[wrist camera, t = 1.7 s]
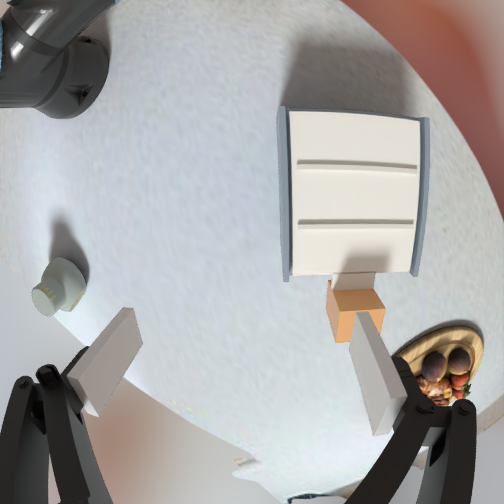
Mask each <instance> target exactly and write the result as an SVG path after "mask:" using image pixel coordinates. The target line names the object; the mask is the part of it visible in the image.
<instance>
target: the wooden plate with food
mask: <svg viewBox="0 0 504 504" xmlns="http://www.w3.org/2000/svg"><path fill="white" fill-rule="evenodd" d="M482 354H483V343H482V340H481V337H480V335H479V334H478V333H477V332H476V331H475V330H474V329H472V328H470V327H466V326H450V327H446V328H443V329H440V330H437V331H434V332H432V333H430V334H428V335H426V336H424V337H422V338H420V339H419V340H417V341H415V342H414V343H412V344H411V345H409V346H408V347H406V348H405V349H404V350H402V351H401V352H400V353H399V354H397V355H396V356H395V357H400V356H401V357H402V358H403V359H404V360H406V361H407V362H408V364H409V366H410V368H411V371H412V372H413V374H414V377H415V378H416V380H417V382H418V384H419V386H420V388H421V390H422V392H423V395H424V397H426V398H429V399H431V400H433V402H434V403H435V404H436V405H438V406H448V405H449V404H450V403H451V402H452V401H453V400H454V399H455V398H457V399H465V398H466V396H468V394H470V392H469V389H470V386H471V384H470V385H468V384H469V383H470V382H471V380H472V379H473V377H474V376H475V374H476V372H477V370H478V368H479V365H480V362H481V359H482Z"/></svg>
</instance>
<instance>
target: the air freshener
mask: <svg viewBox="0 0 504 504" xmlns="http://www.w3.org/2000/svg"><path fill="white" fill-rule="evenodd" d="M85 291H86V283H85V280H84V277H83V275H82V273H81V272H80V270H79V269H78V268H77V266H76V265H75V264H73V263H72V262H71V261H69V260H67V259H65V258H61V257H56V258H54V259H53V260H52V261H51V262H50V263H49V265H48V266H47V267H46V269H45V271H44V273H43V275H42V278H41V283H39V284H38V285H37V286H36V287H34V288H33V290H32V300H33V303H34V305H35V307H36V308H37V309H38V311H39V312H40V313H42V314H43V315H45V316H52V315H53V314H55V313H56V312H57V311H58V310H59V309H60V310H63V311H68V312H70V311H72V310H73V309H74V307H75V306H76V305H77V304H78V302H79V301H80V299H81V298H82V296H83V295H84V293H85Z"/></svg>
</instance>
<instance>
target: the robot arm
mask: <svg viewBox="0 0 504 504" xmlns="http://www.w3.org/2000/svg"><path fill="white" fill-rule="evenodd" d="M3 1H4V2H5V3H7V4H9V5H11V6H10V7H9V9H8V10H7V11H6V12H5V13H4V15H3V16H2V17H1V18H0V108H26V107H31V108H35V109H37V110H39V111H40V112H42V113H44V114H46V115H47V116H49V117H51V118H55V119H69V118H73V117H76V116H78V115H79V114H81V113H83V112H84V111H85V110H86V109H87V108H88V107H89V106H90V105H91V104H92V103H93V102H94V101H95V99H96V98H97V96H98V95H99V93H100V91H101V90H102V87H103V85H104V83H105V80H106V77H107V73H108V54H107V51H106V49H105V47H104V46H103V45H102V43H100V42H99V41H97V40H95V39H93V38H91V37H87V36H78V35H80V34H81V33H82V32H83V31H84V30H85V29H86V28H87V27H88V26H89V25H90V24H91V23H93V22H94V21H95V20H96V19H97V18H98V17H99V16H101V15H102V14H103V13H104V12H105V11H107V10H108V9H109V8H110V7H112V6H113V5H116V4H117V3H118V2H119V0H3ZM142 345H143V342H142V338H141V335H140V331H139V328H138V324H137V320H136V316H135V313H134V309H133V308H125V307H123V308H122V309H121V310H120V311H119V313H118V314H117V315H116V316H115V317H114V318H113V320H112V321H111V322H110V323H109V324H108V325H107V327H106V328H105V329H104V330H103V331H102V333H101V334H100V335H99V336H98V337H97V339H96V340H95V341H94V342H93V343H92V345H91V346H90V347H89V346H86V347H85V348H83V349H82V350H80V351H79V353H78V354H77V355H76V356H75V358H74V359H73V360H72V362H70V363H69V365H68V366H67V367H66V369H65V370H64V371H63V372H62V373H61V375H60V374H59V372H58V370H57V368H56V367H55V366H54V365H51V364H47V365H44V366H42V367H40V368H39V369H38V370H37V372H36V377H37V379H38V381H39V382H40V383H39V384H38V383H34V382H33V380H32V378H31V377H29V376H22V377H20V378H19V379H17V380H16V382H15V384H14V387H13V390H12V393H11V396H10V399H9V402H8V406H7V410H6V413H5V417H4V421H3V425H2V429H1V433H0V504H48V467H49V452H50V457H51V462H52V467H53V472H54V476H55V480H56V484H57V488H58V492H59V495H60V499H61V502H60V503H58V504H113V502H112V500H111V498H110V495H109V492H108V490H107V488H106V485H105V483H104V480H103V478H102V475H101V472H100V469H99V467H98V464H97V461H96V458H95V455H94V452H93V449H92V446H91V442H90V439H89V436H88V432H87V428H86V425H85V421H84V417H83V414H82V412H81V409H82V408H83V406H84V408H85V409H86V411H87V413H88V414H91V415H94V416H98V417H99V416H100V415H101V413H102V411H103V410H104V408H105V406H106V404H107V403H108V401H109V399H110V398H111V396H112V394H113V392H114V391H115V389H116V387H117V386H118V384H119V382H120V381H121V379H122V377H123V376H124V374H125V372H126V371H127V369H128V367H129V366H130V364H131V362H132V361H133V359H134V358H135V356H136V354H137V353H138V351H139V349H140V348H141V346H142ZM349 351H350V355H351V358H352V361H353V364H354V368H355V371H356V374H357V378H358V381H359V385H360V388H361V392H362V395H363V399H364V402H365V406H366V410H367V414H368V417H369V421H370V425H371V429H372V433H373V436H378V435H384V434H389V432H390V430H391V428H392V427H393V430H394V434H393V436H392V437H391V439H390V441H389V442H388V444H387V446H386V447H385V449H384V450H383V452H382V453H381V455H380V456H379V458H378V459H377V461H376V462H375V464H374V465H373V467H372V468H371V470H370V471H369V472H368V474H367V475H366V476H365V478H364V479H363V481H362V482H361V483H360V485H359V486H358V487H357V488H356V490H355V491H354V492H353V493H352V495H351V496H350V497H349V498H348V500H347V501H346V502H345V503H344V504H388V503H389V502H390V500H391V498H392V497H393V496H394V494H395V492H396V491H397V489H398V488H399V486H400V484H401V483H402V481H403V479H404V478H405V476H406V474H407V473H408V471H409V469H410V467H411V465H412V463H413V462H414V460H415V458H416V456H417V454H418V452H419V450H420V448H421V446H429V450H428V456H427V461H426V466H425V471H424V476H423V480H422V484H421V488H420V491H419V495H418V499H417V502H416V504H470V502H471V496H472V488H473V481H474V472H475V459H476V432H477V425H476V408H475V405H474V404H473V403H472V402H471V401H470V400H467V399H458V400H456V401H455V402H454V403H453V405H452V406H438V405H436V404H435V403H434V402H433V400H431V399H429V398H426V397H424V395H423V392H422V390H421V388H420V386H419V384H418V382H417V380H416V378H415V377H414V374H413V372H412V371H411V368H410V366H409V364H408V362H407V361H406V360H404V359H403V358H402V357H401V356H400V357H392V358H391V357H390V355H389V353H388V351H387V348H386V346H385V344H384V342H383V340H382V338H381V336H380V334H379V332H378V330H377V328H376V326H375V324H374V322H373V320H372V318H371V316H370V314H369V312H368V311H365V312H356V313H355V319H354V325H353V331H352V336H351V342H350V347H349Z"/></svg>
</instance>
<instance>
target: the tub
mask: <svg viewBox="0 0 504 504" xmlns="http://www.w3.org/2000/svg"><path fill="white" fill-rule="evenodd" d="M289 111H307V112H337V113H353V114H365V115H376V116H385V117H393V118H401V119H408V120H414V121H420V180H419V197H418V210H417V221H416V230H415V238H414V246H413V253H412V259H411V265H410V271H408V272H409V273H410V274H411V275H412V276H413V277H418V271H419V266H420V260H421V254H422V247H423V240H424V233H425V224H426V215H427V204H428V191H429V171H430V127H429V118H427V117H422V118H415V117H409V116H402V115H395V114H387V113H378V112H368V111H357V110H343V109H322V108H285V106H279V108H278V113H277V140H278V165H279V196H280V241H281V255H282V268H283V282H289V275H292V191H291V154H290V129H289V126H290V125H289Z"/></svg>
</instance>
